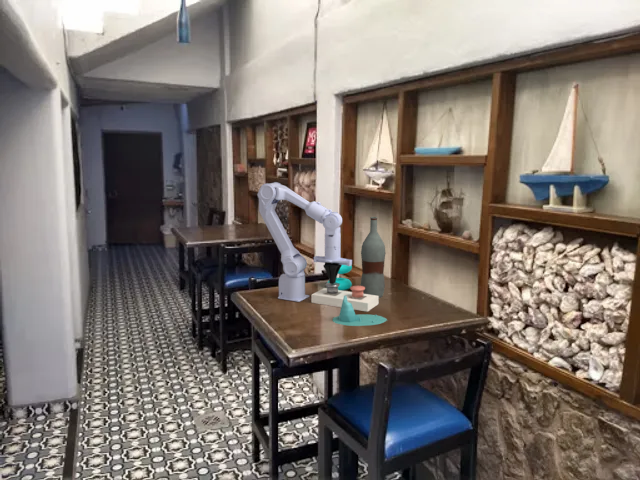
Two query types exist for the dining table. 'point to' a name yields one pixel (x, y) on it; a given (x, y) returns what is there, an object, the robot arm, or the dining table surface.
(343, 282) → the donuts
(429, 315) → the dining table surface
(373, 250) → the bottle
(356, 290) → the red plug
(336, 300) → the socket block
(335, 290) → the grey plug
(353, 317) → the teal witch hat
